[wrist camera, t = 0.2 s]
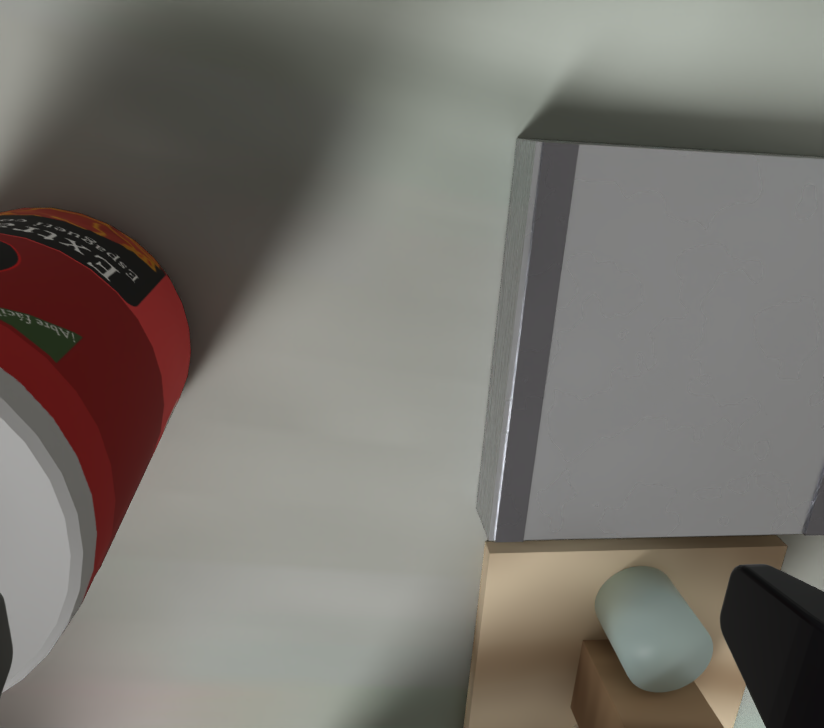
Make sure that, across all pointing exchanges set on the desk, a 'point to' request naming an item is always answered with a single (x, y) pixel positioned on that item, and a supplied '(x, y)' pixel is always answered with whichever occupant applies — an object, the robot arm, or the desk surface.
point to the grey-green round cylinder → (652, 629)
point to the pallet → (597, 633)
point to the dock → (657, 346)
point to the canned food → (75, 407)
